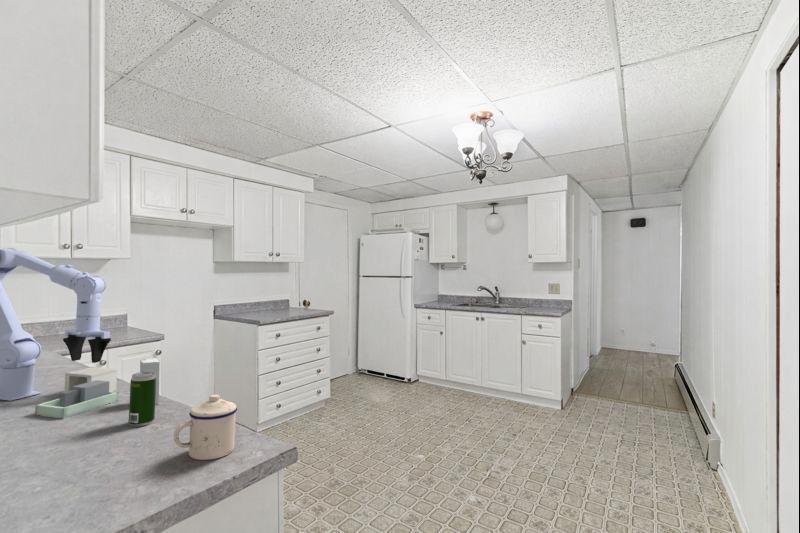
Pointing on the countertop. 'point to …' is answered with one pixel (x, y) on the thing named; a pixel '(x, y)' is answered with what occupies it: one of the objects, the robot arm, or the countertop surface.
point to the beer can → (142, 399)
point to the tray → (73, 406)
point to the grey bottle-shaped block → (84, 392)
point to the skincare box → (152, 366)
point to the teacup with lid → (210, 429)
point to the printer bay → (91, 377)
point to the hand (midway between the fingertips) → (86, 361)
